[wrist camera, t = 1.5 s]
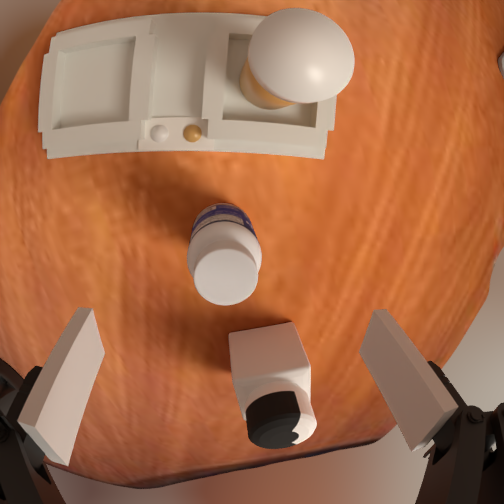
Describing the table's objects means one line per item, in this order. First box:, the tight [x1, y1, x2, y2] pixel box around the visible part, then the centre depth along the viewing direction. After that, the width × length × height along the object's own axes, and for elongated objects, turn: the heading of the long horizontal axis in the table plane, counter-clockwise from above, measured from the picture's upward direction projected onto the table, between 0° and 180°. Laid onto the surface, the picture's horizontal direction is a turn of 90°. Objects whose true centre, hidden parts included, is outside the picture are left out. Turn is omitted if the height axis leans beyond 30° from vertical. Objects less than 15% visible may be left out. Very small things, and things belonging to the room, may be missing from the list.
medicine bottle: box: [228, 322, 317, 449], centre depth 27 cm, size 7×7×12 cm
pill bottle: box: [187, 203, 262, 305], centre depth 22 cm, size 5×5×9 cm
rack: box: [38, 8, 354, 159], centre depth 15 cm, size 24×12×11 cm, turn 86°
